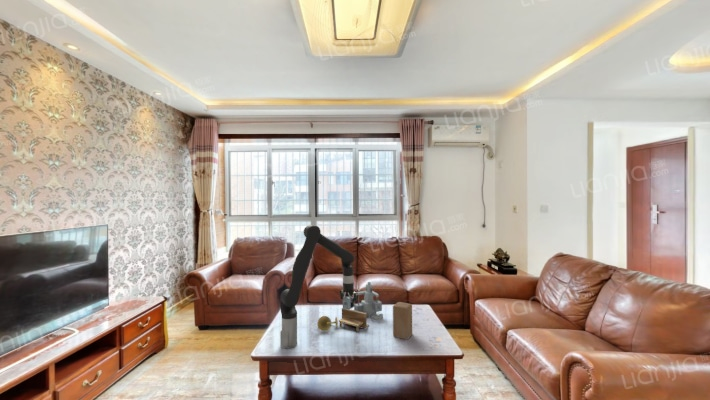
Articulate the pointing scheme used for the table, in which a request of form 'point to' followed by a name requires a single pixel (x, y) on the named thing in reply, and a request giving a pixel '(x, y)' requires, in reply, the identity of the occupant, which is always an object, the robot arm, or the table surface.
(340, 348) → the table surface
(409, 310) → the block
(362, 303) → the castle model
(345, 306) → the grey rectangular box
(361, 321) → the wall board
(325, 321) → the wall sconce
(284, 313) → the robot arm
